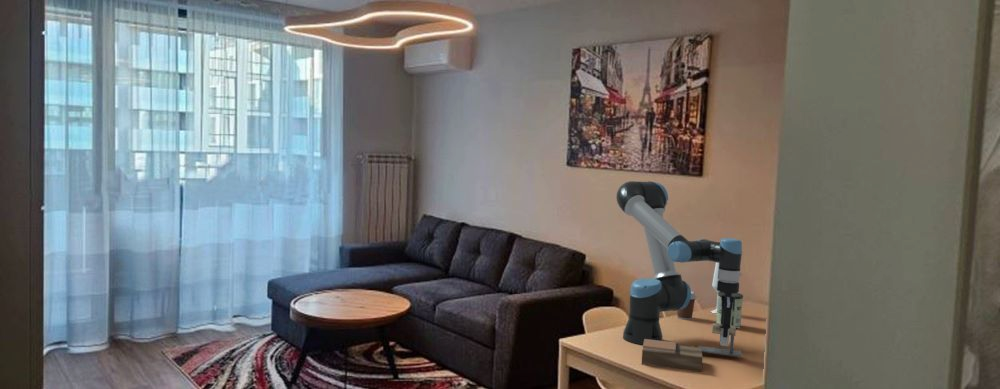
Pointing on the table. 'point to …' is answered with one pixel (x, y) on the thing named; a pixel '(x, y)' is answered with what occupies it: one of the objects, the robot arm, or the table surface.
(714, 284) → the champagne flute
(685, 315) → the coffee cup
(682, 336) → the table surface
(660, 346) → the tile
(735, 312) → the coffee can
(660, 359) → the flip board
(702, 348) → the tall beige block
